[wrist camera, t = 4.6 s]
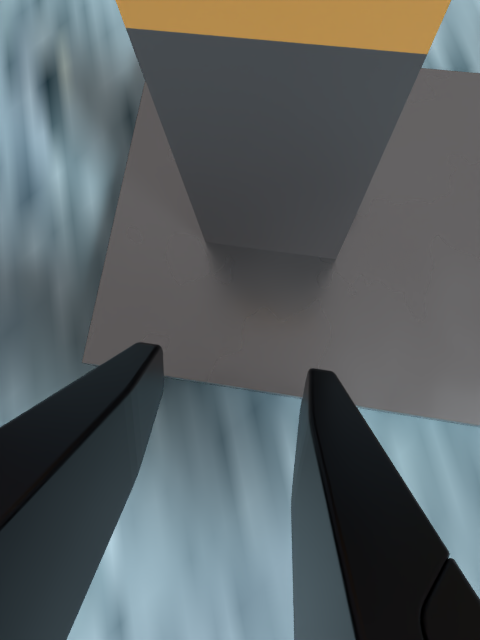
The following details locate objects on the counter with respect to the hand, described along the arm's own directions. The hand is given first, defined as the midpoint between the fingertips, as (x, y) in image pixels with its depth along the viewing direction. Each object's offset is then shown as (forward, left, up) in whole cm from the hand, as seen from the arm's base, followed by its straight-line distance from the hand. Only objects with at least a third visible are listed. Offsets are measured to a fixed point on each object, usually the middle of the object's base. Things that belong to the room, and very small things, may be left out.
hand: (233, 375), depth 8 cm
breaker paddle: (+5, 0, -5) cm, 7 cm away
